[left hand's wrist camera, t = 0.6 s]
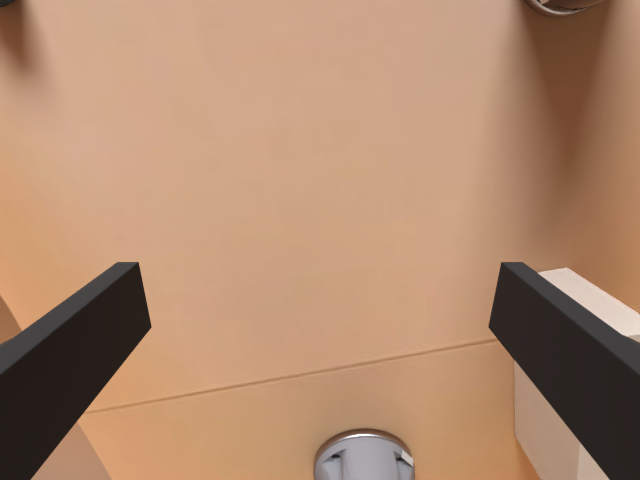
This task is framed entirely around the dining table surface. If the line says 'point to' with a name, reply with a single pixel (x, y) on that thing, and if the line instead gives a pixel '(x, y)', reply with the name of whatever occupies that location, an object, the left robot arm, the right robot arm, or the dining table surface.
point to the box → (537, 414)
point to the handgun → (5, 2)
